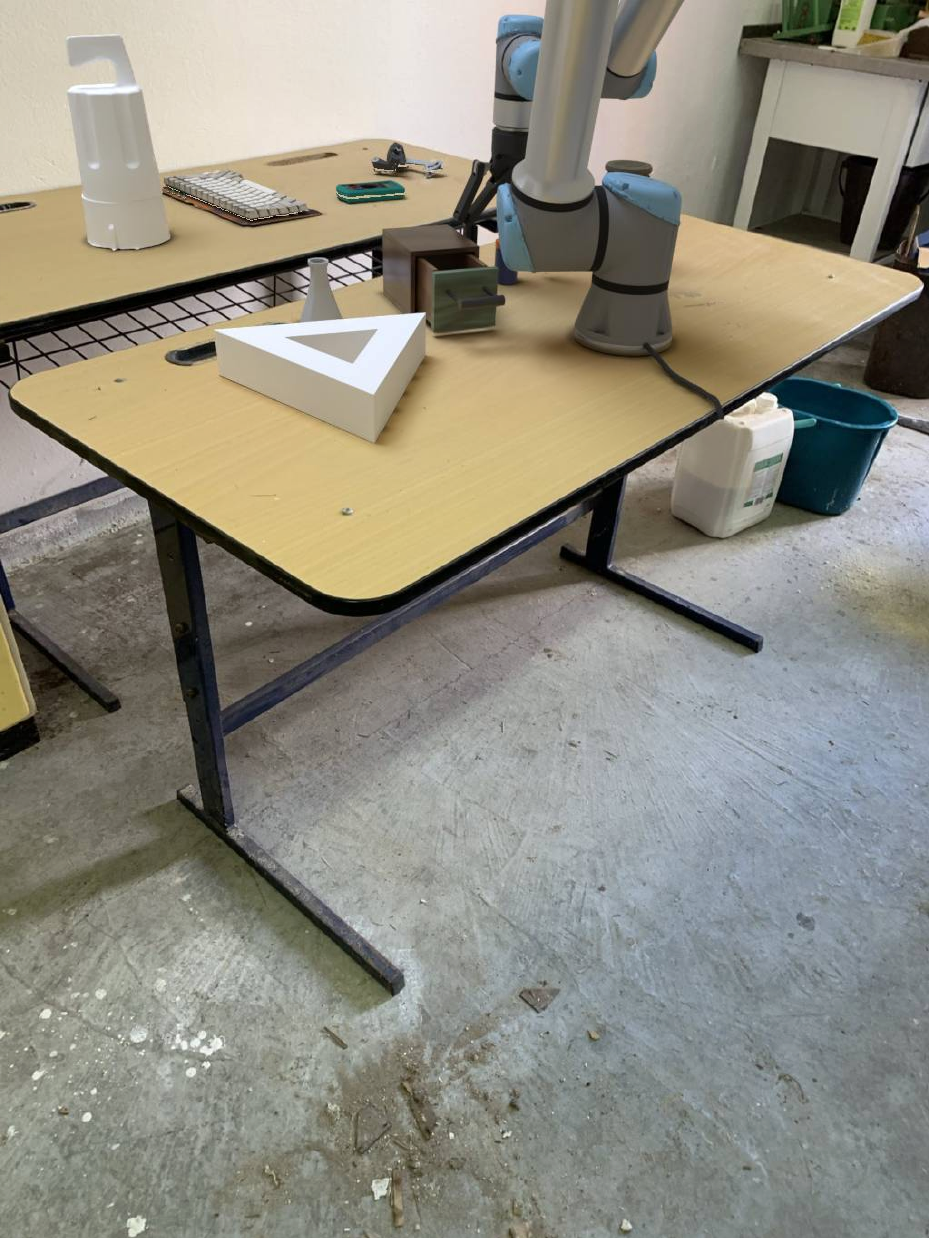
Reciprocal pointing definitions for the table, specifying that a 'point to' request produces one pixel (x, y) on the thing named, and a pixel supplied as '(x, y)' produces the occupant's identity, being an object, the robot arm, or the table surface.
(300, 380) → the triangle block
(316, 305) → the flask
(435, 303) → the drawer
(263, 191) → the mechanical keyboard
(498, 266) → the glue stick
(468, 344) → the table surface
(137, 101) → the white piece
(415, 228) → the cabinet
